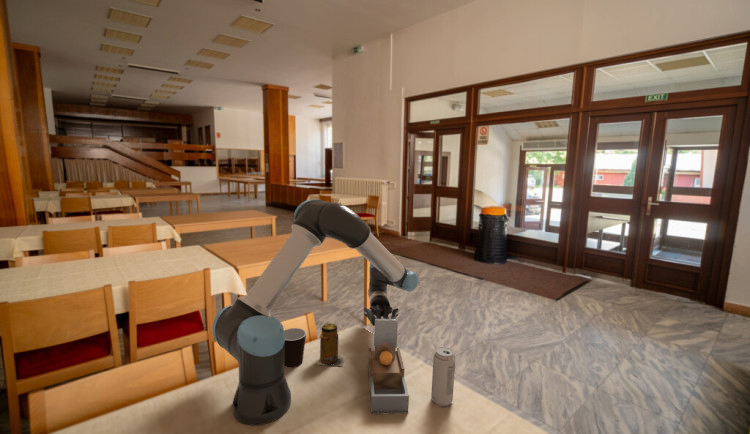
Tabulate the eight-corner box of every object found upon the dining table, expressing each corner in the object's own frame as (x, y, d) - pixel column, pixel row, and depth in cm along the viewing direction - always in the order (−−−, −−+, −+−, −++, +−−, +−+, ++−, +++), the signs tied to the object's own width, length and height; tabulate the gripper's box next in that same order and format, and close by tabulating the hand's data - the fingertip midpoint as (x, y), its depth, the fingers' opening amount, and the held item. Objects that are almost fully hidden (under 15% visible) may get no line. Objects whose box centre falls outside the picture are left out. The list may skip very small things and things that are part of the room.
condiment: (321, 353, 121) (321, 321, 119) (345, 355, 121) (346, 322, 119) (316, 365, 114) (317, 331, 112) (342, 366, 114) (343, 332, 112)
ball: (378, 366, 104) (378, 354, 103) (380, 359, 108) (380, 347, 107) (391, 368, 103) (391, 356, 102) (393, 361, 107) (393, 349, 106)
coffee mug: (299, 371, 110) (299, 342, 109) (274, 367, 112) (274, 338, 110) (313, 352, 122) (313, 325, 120) (290, 349, 123) (290, 322, 122)
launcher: (369, 391, 101) (370, 369, 100) (367, 368, 113) (368, 347, 112) (403, 391, 102) (404, 368, 101) (398, 368, 114) (399, 347, 113)
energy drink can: (436, 391, 103) (439, 343, 101) (455, 399, 99) (459, 350, 97) (427, 401, 98) (430, 352, 96) (447, 410, 94) (450, 359, 92)
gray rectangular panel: (373, 358, 107) (375, 320, 106) (373, 356, 109) (374, 318, 107) (396, 358, 108) (397, 320, 106) (395, 356, 109) (397, 318, 107)
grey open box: (371, 413, 92) (371, 396, 92) (369, 391, 101) (370, 376, 101) (408, 412, 93) (409, 395, 92) (403, 391, 102) (404, 375, 101)
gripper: (395, 313, 135) (405, 343, 112) (362, 312, 134) (364, 343, 111) (396, 294, 134) (406, 321, 111) (363, 294, 133) (365, 321, 110)
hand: (385, 332), depth 111 cm, fingers closed
